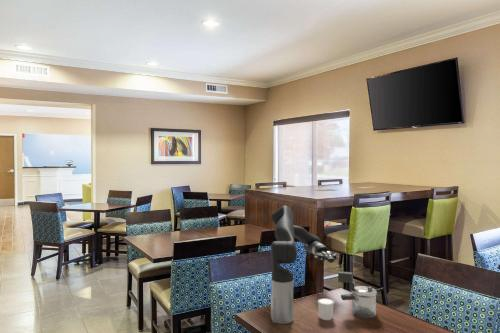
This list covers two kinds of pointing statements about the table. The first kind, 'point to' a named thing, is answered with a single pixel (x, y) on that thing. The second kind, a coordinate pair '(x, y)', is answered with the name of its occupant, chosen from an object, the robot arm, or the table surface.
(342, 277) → the lid
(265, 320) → the table surface
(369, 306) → the pot
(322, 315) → the white cylinder
